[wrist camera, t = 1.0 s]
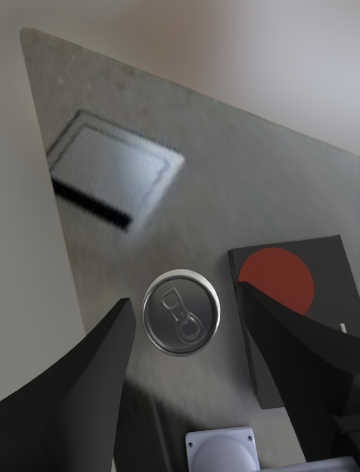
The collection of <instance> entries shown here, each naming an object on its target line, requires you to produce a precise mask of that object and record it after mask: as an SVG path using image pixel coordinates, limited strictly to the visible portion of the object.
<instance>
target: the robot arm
mask: <svg viewBox="0 0 360 472" xmlns="http://www.w3.org/2000/svg"><path fill="white" fill-rule="evenodd" d="M237 302H238V309H239V312H240V314H241V317H242V319H243V322H244V323H245V325H246V327H247V329H248V331H249V333H250V334H251V336H252V338H253V340H254V342H255V344H256V345H257V347H258V349H259V351H260V353H261V354H262V356H263V358H264V360H265V362H266V364H267V366H268V369H269V371H270V373H271V376H272V378H273V380H274V382H275V385H276V387H277V389H278V392H279V394H280V396H281V399H282V401H283V403H284V406H285V408H286V411H287V413H288V416H289V418H290V421H291V423H292V426H293V428H294V431H295V433H296V436H297V438H298V441H299V444H300V446H301V449H302V451H303V454H304V457H305V459H306V462H307V463H301V464H295V465H289V466H282V467H276V468H270V469H263V470H260V469H259V464H258V458H257V452H256V447H255V441H254V435H253V431H252V429H251V427H249V426H242V427H233V428H224V429H215V430H206V431H197V432H189V433H187V434H186V449H187V458H188V466H189V472H360V338H359V337H356V336H353V335H350V334H347V333H344V332H342V331H339V330H336V329H334V328H331V327H329V326H326V325H324V324H321V323H319V322H317V321H314V320H312V319H310V318H308V317H306V316H304V315H302V314H300V313H298V312H296V311H294V310H292V309H290V308H288V307H286V306H285V305H283V304H281V303H279V302H278V301H276V300H275V299H273V298H271V297H270V296H268V295H267V294H265V293H264V292H262V291H261V290H259V289H258V288H256V287H255V286H253V285H252V284H250V283H249V282H247V281H241V282H237ZM135 326H136V320H135V316H134V312H133V308H132V305H131V301H130V297H129V298H122V299H120V300H119V301H118V302H117V303H116V304H115V305H114V307H113V308H112V309H111V310H110V311H109V312H108V313H107V315H106V316H105V317H104V318H103V319H102V320H101V321H100V322H99V323H98V324H97V325H96V326H95V328H94V329H93V330H92V331H91V332H90V333H89V334H88V335H87V336H86V337H85V338H84V339H83V340H82V341H81V342H79V343H78V344H77V345H76V346H75V347H74V348H73V349H72V350H70V351H69V352H68V353H67V354H66V355H65V356H63V357H62V358H61V359H59V360H58V361H57V362H56V363H55V364H53V365H52V366H51V367H49V368H48V369H47V370H46V371H44V372H43V373H42V374H40V375H39V376H38V377H36V378H35V379H33V380H32V381H30V382H29V383H27V384H26V385H24V386H23V387H21V388H20V389H19V390H17V391H15V392H14V393H12V394H11V395H9V396H8V397H6V398H4V399H3V400H1V401H0V472H111V468H112V458H113V450H114V442H115V434H116V426H117V419H118V412H119V405H120V399H121V393H122V386H123V381H124V377H125V372H126V368H127V364H128V360H129V356H130V352H131V348H132V344H133V340H134V334H135ZM248 436H251V437H250V438H248ZM189 443H192V444H191V445H190V444H189Z"/></svg>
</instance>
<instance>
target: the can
mask: <svg viewBox="0 0 360 472" xmlns="http://www.w3.org/2000/svg"><path fill="white" fill-rule="evenodd" d="M219 319H220V304H219V300H218V297H217V294H216V292H215V290H214V288H213V287H212V285H211V284H210V283H209V282H208V281H207V280H206V279H205V278H204V277H203V276H201V275H200V274H198V273H196V272H193V271H190V270H185V269H178V270H172V271H169V272H166V273H164V274H162V275H161V276H159V277H158V278H157V279H156V280H155V281H154V282H153V283H152V284H151V285H150V287H149V288H148V290H147V292H146V294H145V296H144V300H143V304H142V323H143V327H144V330H145V333H146V335H147V337H148V339H149V340H150V341H151V343H152V344H153V345H154V346H155V347H156V348H157V349H159V350H160V351H162V352H163V353H165V354H168V355H171V356H176V357H185V356H190V355H193V354H196V353H198V352H199V351H201V350H202V349H204V348H205V347H206V346H207V345H208V344H209V343H210V341H211V340H212V338H213V336H214V334H215V332H216V329H217V327H218V324H219Z"/></svg>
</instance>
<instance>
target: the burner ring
mask: <svg viewBox="0 0 360 472" xmlns="http://www.w3.org/2000/svg"><path fill="white" fill-rule="evenodd" d="M241 281H247V282H249V283H250V284H252V285H253V286H255V287H256V288H258V289H259V290H261V291H262V292H264V293H265V294H267V295H268V296H270V297H271V298H273V299H275V300H276V301H278V302H279V303H281V304H283V305H285V306H286V307H288V308H290V309H292V310H294V311H296V312H298V313H300V314H302V315H303V314H304V313H305V312H306V311H307V310H308V308H309V307H310V305H311V302H312V300H313V295H314V284H313V279H312V276H311V273H310V271H309V269H308V268H307V266H306V265H305V264H304V262H303V261H302V260H301V259H300V258H299V257H297V256H296V255H295V254H293V253H291V252H289V251H287V250H284V249H280V248H265V249H261V250H258V251H256V252H254V253H253V254H251V255H250V256H249V257H248V258H247V259H246V260H245V262H244V263H243V265H242V267H241V269H240V273H239V278H238V282H241Z"/></svg>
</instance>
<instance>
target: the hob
mask: <svg viewBox="0 0 360 472" xmlns="http://www.w3.org/2000/svg"><path fill="white" fill-rule="evenodd" d="M265 248H280V249H284V250H287V251H289V252H291V253H293V254H295V255H296V256H297V257H299V258H300V259H301V260H302V261H303V262H304V264H305V265H306V266H307V268H308V269H309V271H310V273H311V276H312V279H313V284H314V295H313V300H312V302H311V305H310V307H309V308H308V310H307V311H306V312H305V313H304V314H303V315H304V316H306V317H308V318H310V319H312V320H314V321H317V322H319V323H321V324H324V325H326V326H329V327H331V328H334V329H336V330H339V331H342V332H344V333H347V334H350V335H353V336H356V337H359V338H360V297H359V294H358V291H357V288H356V284H355V281H354V278H353V275H352V272H351V269H350V265H349V262H348V259H347V256H346V253H345V250H344V246H343V243H342V240H341V237H340V235H332V236H325V237H317V238H310V239H302V240H295V241H287V242H280V243H273V244H265V245H258V246H250V247H243V248H235V249H231V250H229V251H228V257H229V262H230V268H231V273H232V278H233V284H234V289H235V295H236V300H237V282H238V278H239V273H240V269H241V267H242V265H243V263H244V262H245V260H246V259H247V258H248V257H249V256H250V255H251V254H253V253H254V252H256V251H258V250H261V249H265ZM237 306H238V302H237ZM238 311H239V309H238ZM239 317H240V322H241V327H242V333H243V338H244V344H245V349H246V355H247V360H248V366H249V371H250V377H251V382H252V387H253V393H254V396H255V397H256V399H257V401H258V403H259V405H260V407H261V409H271V408H279V407H285V406H284V403H283V401H282V399H281V396H280V394H279V392H278V389H277V387H276V385H275V382H274V380H273V378H272V376H271V373H270V371H269V369H268V366H267V364H266V362H265V360H264V358H263V356H262V354H261V353H260V351H259V349H258V347H257V345H256V344H255V342H254V340H253V338H252V336H251V334H250V333H249V331H248V329H247V327H246V325H245V323H244V322H243V319H242V317H241V314H240V312H239Z"/></svg>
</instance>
